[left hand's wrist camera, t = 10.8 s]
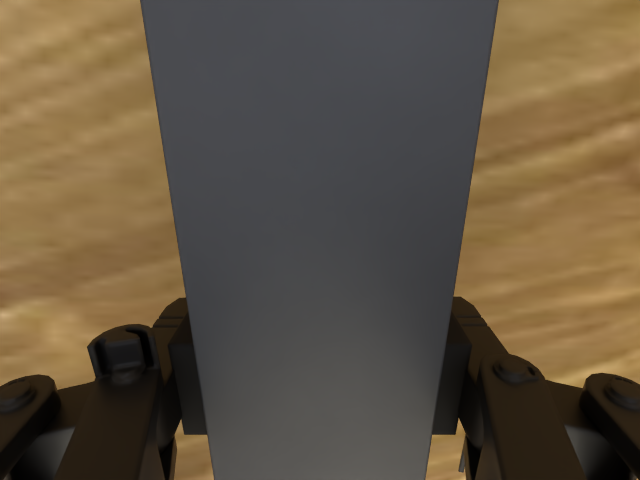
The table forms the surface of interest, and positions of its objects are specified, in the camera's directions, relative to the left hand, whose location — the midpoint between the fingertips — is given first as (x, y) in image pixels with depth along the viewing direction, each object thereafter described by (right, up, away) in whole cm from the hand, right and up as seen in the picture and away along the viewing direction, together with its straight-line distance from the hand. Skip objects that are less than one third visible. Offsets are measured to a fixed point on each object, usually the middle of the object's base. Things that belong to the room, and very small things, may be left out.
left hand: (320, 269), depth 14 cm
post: (0, +22, -8) cm, 23 cm away
